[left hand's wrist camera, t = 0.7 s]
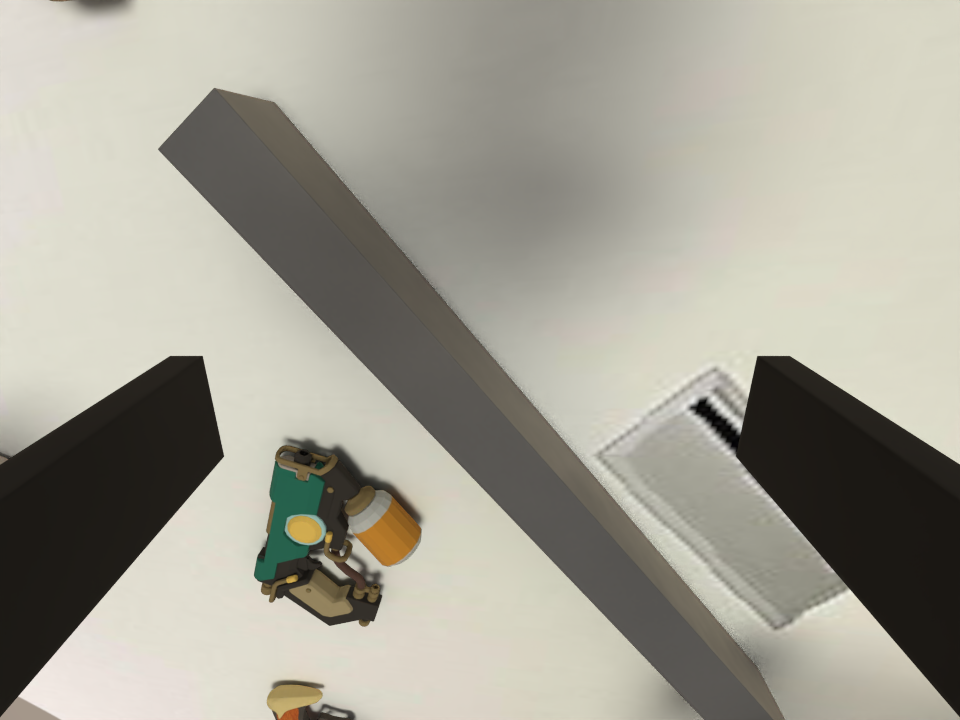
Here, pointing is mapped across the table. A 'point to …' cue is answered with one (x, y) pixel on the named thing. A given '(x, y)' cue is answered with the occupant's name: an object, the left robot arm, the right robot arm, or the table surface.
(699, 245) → the table surface
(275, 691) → the toy gun
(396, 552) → the spray gun
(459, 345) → the beam
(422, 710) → the table surface
